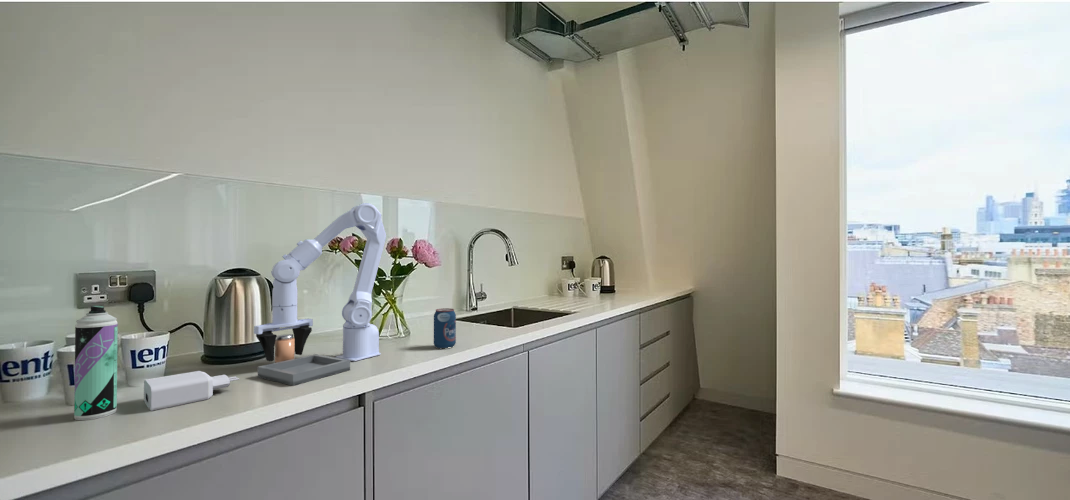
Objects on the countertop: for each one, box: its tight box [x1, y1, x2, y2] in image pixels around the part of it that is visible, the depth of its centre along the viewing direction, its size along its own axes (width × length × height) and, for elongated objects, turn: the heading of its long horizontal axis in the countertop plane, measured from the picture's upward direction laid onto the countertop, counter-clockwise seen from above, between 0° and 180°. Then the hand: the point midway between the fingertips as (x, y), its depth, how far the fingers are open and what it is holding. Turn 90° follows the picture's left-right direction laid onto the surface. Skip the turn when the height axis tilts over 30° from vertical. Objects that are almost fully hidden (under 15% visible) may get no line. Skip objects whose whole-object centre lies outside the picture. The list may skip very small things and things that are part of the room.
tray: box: [257, 353, 351, 387], centre depth 107 cm, size 15×14×2 cm
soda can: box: [433, 308, 457, 349], centre depth 138 cm, size 7×7×12 cm
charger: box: [143, 370, 240, 412], centre depth 89 cm, size 5×9×15 cm
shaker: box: [274, 333, 296, 363], centre depth 113 cm, size 4×4×8 cm
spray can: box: [73, 305, 119, 421], centre depth 79 cm, size 6×6×20 cm
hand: (284, 357), depth 113 cm, fingers open, 7 cm apart
